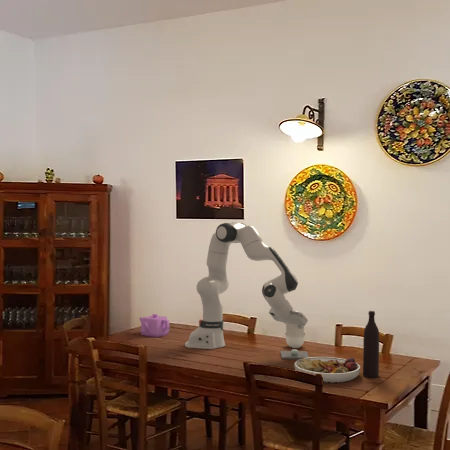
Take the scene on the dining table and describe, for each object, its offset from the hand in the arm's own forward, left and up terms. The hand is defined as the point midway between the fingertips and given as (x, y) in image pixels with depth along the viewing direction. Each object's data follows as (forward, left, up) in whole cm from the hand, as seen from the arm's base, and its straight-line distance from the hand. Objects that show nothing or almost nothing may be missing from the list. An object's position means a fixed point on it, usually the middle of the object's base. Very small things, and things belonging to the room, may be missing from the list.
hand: (295, 326), depth 316 cm
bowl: (+11, -35, -16) cm, 40 cm away
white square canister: (0, 0, -5) cm, 5 cm away
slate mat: (-1, 0, -15) cm, 15 cm away
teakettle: (-82, +48, -16) cm, 96 cm away
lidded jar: (+1, +21, -16) cm, 26 cm away
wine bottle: (+31, -36, -15) cm, 51 cm away
